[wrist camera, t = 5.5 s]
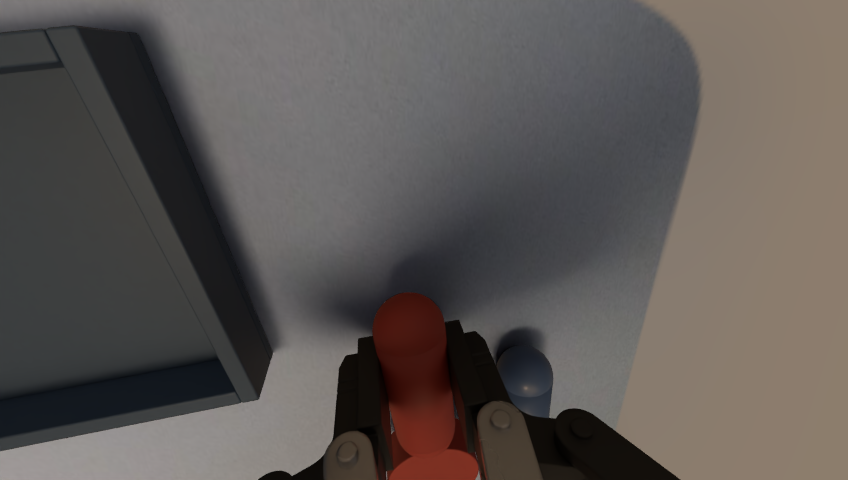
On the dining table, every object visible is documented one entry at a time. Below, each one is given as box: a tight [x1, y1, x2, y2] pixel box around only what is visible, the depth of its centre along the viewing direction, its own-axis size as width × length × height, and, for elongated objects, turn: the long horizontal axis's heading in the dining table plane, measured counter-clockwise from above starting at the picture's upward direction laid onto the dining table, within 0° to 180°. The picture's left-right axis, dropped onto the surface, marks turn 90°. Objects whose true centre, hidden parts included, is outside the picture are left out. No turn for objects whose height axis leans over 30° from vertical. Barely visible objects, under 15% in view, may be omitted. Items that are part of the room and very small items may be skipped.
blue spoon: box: [478, 345, 553, 473], centre depth 17 cm, size 11×4×2 cm, turn 6°
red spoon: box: [372, 292, 479, 480], centre depth 14 cm, size 11×4×2 cm, turn 6°
